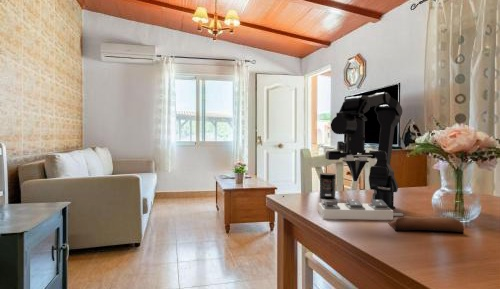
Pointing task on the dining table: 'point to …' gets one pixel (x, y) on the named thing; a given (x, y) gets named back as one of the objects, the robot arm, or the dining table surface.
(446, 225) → the sunglasses case
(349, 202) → the rocker middle
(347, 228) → the dining table surface
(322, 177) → the supplement container
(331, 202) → the rocker
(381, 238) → the dining table surface
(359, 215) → the power strip
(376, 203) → the rocker
